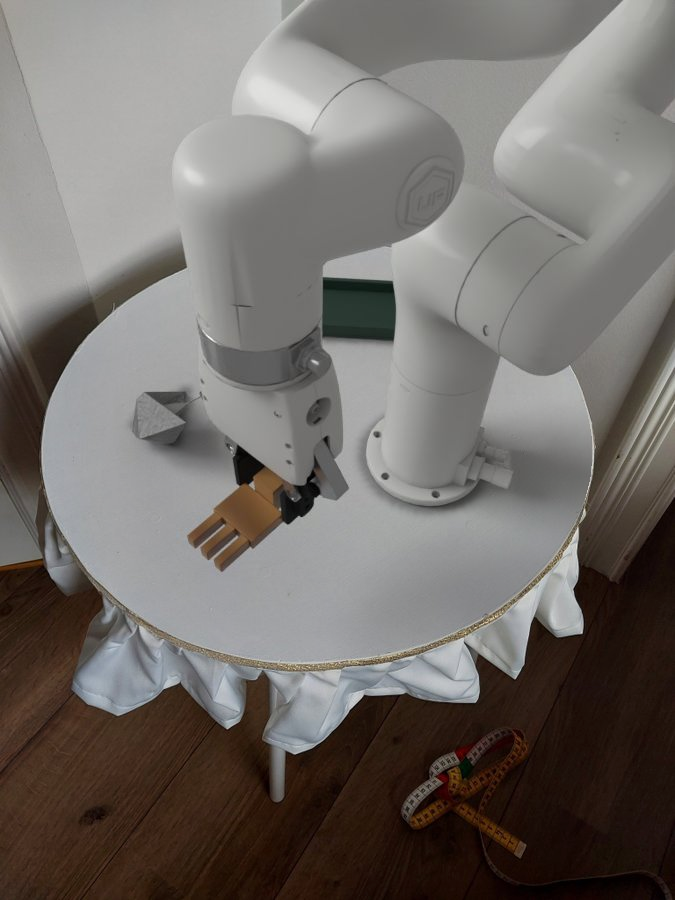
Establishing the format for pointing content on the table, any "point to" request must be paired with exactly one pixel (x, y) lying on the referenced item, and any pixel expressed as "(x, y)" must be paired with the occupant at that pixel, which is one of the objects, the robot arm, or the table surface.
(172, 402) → the grey angular piece
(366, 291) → the tray
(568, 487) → the table surface
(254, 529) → the fork
